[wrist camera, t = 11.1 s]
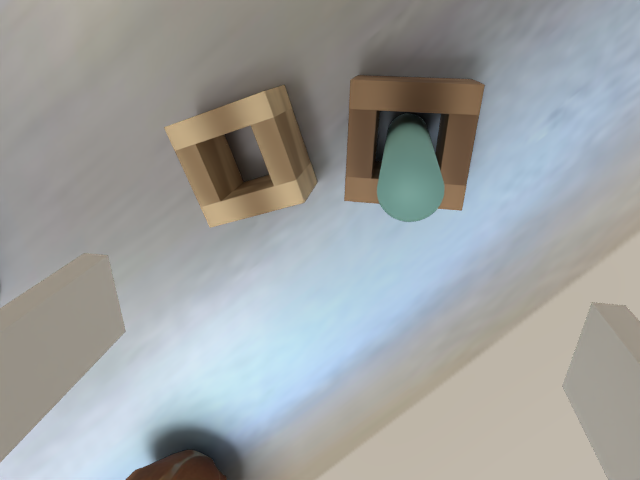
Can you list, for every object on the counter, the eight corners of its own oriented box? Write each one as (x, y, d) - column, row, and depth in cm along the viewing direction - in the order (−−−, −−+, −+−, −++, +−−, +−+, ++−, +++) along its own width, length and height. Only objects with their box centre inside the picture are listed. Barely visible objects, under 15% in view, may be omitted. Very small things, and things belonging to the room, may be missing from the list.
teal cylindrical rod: (385, 152, 32) (374, 218, 19) (389, 112, 31) (380, 155, 18) (424, 155, 32) (438, 224, 19) (430, 114, 30) (450, 161, 18)
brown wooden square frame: (352, 180, 33) (344, 200, 29) (358, 75, 30) (350, 79, 26) (453, 188, 32) (461, 210, 28) (472, 79, 29) (484, 84, 24)
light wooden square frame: (233, 205, 36) (209, 227, 32) (195, 116, 34) (164, 127, 29) (317, 182, 34) (304, 202, 30) (284, 84, 31) (264, 90, 27)
